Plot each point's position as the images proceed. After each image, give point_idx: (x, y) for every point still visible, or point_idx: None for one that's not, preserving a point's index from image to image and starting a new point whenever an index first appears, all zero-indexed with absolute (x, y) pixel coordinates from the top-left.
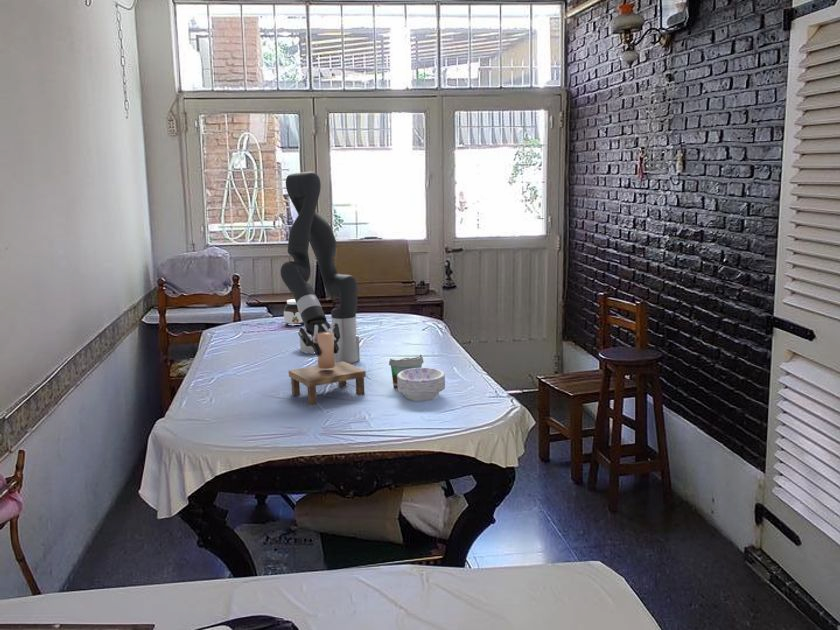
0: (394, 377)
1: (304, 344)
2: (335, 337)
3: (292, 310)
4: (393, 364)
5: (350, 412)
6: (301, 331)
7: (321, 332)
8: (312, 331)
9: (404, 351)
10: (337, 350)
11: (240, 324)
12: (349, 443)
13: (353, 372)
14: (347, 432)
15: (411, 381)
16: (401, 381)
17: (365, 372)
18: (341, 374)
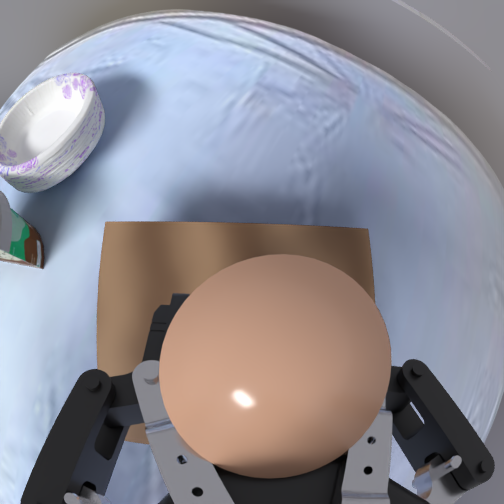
0: (28, 249)
1: None
2: (125, 400)
3: None
4: (7, 224)
5: (260, 139)
6: (483, 444)
7: (299, 451)
8: (388, 482)
9: None
10: (180, 293)
11: None
12: (326, 48)
13: (156, 230)
14: (314, 70)
15: (93, 82)
16: (94, 107)
17: (108, 223)
18: (216, 232)
